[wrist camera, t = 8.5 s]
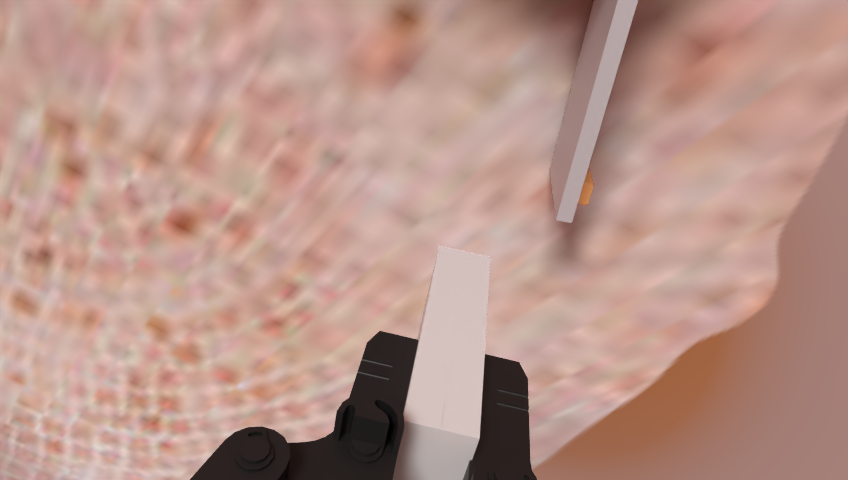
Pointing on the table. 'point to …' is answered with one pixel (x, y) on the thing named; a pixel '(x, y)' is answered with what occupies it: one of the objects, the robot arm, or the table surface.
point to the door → (588, 104)
